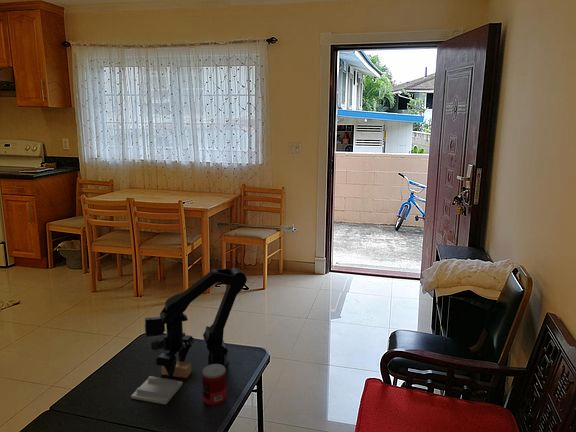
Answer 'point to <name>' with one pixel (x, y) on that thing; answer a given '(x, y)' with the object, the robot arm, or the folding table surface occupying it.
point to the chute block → (179, 369)
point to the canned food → (214, 384)
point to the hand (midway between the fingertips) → (176, 370)
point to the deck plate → (157, 390)
